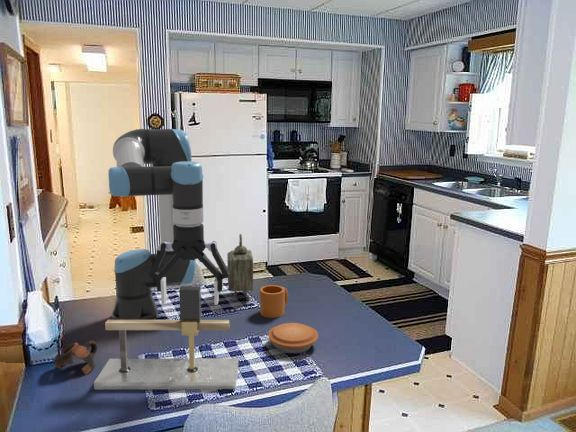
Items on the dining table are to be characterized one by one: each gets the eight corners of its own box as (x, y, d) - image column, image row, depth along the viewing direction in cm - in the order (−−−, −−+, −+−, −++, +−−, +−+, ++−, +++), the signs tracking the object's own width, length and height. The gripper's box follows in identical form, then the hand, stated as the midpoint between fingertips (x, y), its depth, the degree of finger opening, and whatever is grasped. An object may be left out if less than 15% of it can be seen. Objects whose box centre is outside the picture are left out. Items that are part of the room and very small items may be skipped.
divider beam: (110, 368, 125) (107, 319, 122) (229, 367, 126) (229, 319, 124) (108, 371, 123) (105, 322, 120) (229, 371, 125) (228, 323, 122)
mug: (296, 312, 168) (297, 289, 166) (267, 320, 162) (268, 296, 160) (283, 304, 175) (283, 281, 173) (255, 310, 169) (255, 287, 167)
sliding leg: (184, 363, 127) (181, 284, 122) (202, 363, 127) (201, 284, 123) (181, 372, 123) (178, 291, 118) (200, 372, 123) (198, 291, 118)
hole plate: (110, 365, 130) (109, 358, 130) (238, 364, 132) (238, 358, 131) (94, 389, 119) (93, 382, 118) (235, 388, 120) (235, 381, 120)
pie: (259, 351, 140) (260, 336, 139) (278, 330, 154) (278, 316, 153) (308, 361, 135) (309, 345, 133) (323, 338, 149) (324, 324, 148)
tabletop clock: (253, 302, 176) (253, 239, 171) (229, 303, 175) (228, 239, 170) (249, 289, 190) (249, 229, 185) (227, 289, 189) (227, 230, 184)
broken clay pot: (80, 383, 122) (61, 359, 121) (61, 388, 127) (43, 364, 126) (111, 352, 132) (94, 329, 130) (92, 358, 137) (76, 336, 135)
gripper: (133, 226, 113) (138, 308, 117) (236, 227, 114) (237, 308, 118) (142, 219, 120) (146, 296, 124) (239, 220, 121) (239, 297, 125)
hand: (190, 302), depth 121 cm, fingers open, 13 cm apart
